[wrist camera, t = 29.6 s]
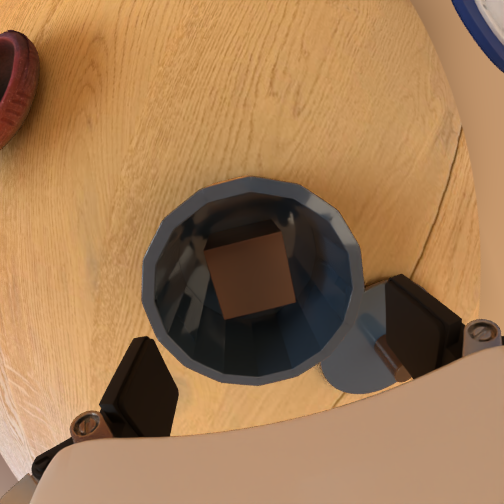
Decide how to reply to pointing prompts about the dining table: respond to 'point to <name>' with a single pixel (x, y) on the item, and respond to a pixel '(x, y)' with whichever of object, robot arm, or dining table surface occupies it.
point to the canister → (264, 322)
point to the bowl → (16, 82)
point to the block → (249, 269)
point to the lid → (365, 350)
